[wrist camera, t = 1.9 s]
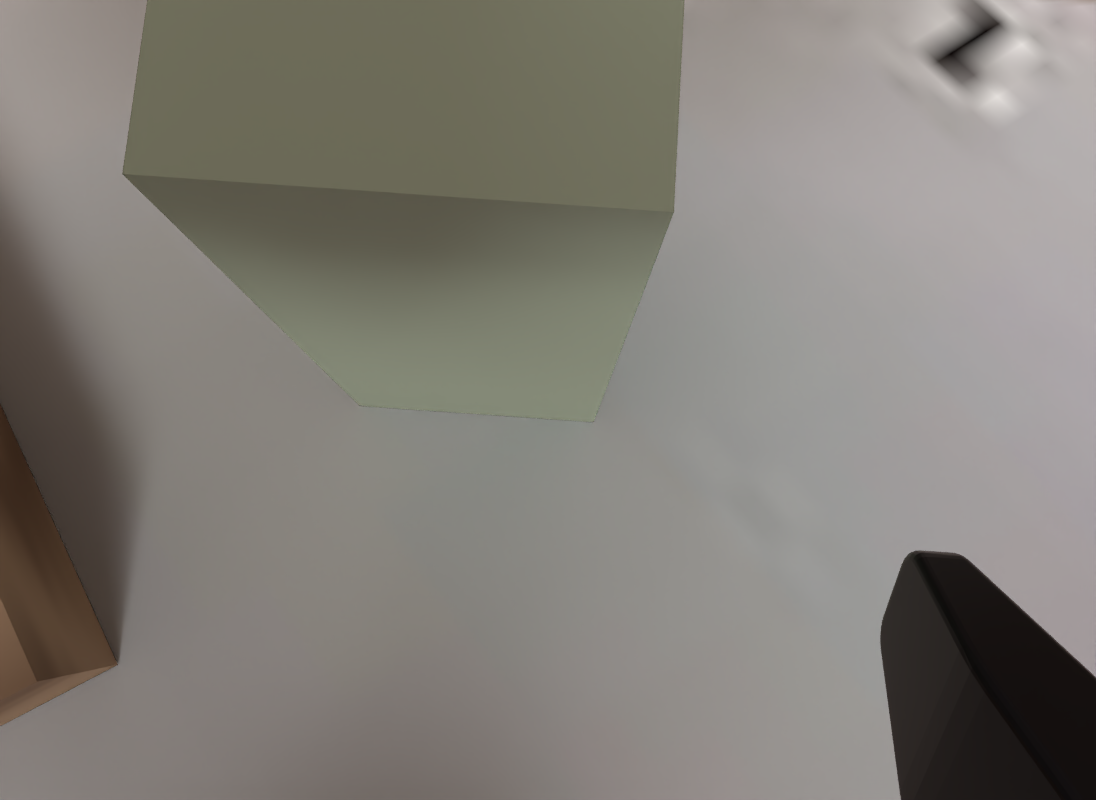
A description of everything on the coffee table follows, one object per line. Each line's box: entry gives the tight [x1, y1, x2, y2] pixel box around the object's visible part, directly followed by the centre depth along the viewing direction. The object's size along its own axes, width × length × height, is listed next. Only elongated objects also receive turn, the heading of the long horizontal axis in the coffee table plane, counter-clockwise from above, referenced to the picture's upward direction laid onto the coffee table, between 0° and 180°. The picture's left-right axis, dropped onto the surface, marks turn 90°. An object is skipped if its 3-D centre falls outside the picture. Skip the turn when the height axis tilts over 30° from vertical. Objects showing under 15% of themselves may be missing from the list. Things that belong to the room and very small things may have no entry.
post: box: [122, 0, 684, 422], centre depth 16 cm, size 5×5×13 cm
